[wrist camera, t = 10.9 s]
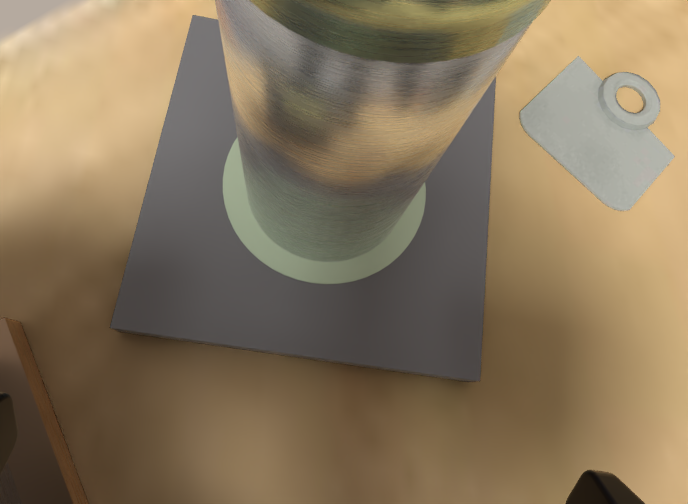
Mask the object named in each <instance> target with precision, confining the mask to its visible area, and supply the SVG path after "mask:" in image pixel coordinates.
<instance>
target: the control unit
mask: <svg viewBox="0 0 688 504" xmlns="http://www.w3.org/2000/svg"><path fill="white" fill-rule="evenodd" d="M0 392H5V393H8V394H9V395H10V396H11V397H12V400H13V405H14V411H15V416H16V422H17V428H18V437H17V441H16V444H15V447H14V449H13V451H12V453H11V455H10V457H9V459H8V461H7V463H6V465H5V467H4V469H3V471H2V473H1V475H0V504H88V501H87V498H86V496H85V493H84V490H83V488H82V485H81V482H80V480H79V477H78V474H77V472H76V469H75V466H74V464H73V461H72V458H71V456H70V453H69V450H68V448H67V445H66V442H65V440H64V437H63V434H62V432H61V429H60V426H59V424H58V421H57V418H56V416H55V413H54V410H53V408H52V405H51V402H50V400H49V397H48V394H47V392H46V389H45V386H44V384H43V381H42V378H41V376H40V373H39V370H38V368H37V365H36V362H35V360H34V357H33V354H32V352H31V349H30V346H29V344H28V341H27V338H26V336H25V333H24V330H23V328H22V325H21V322H18V321H15V320H12V319H8V318H5V317H4V318H2V319H0Z"/></svg>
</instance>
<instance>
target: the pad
mask: <svg viewBox="0 0 688 504" xmlns="http://www.w3.org/2000/svg"><path fill="white" fill-rule="evenodd" d="M495 83H496V77H495V78H494V80H493V81H492V83H491V84H490V86H489V87H488V89H487V90H486V92H485V93H484V95H483V96H482V98H481V99H480V101H479V102H478V104H477V105H476V106H475V108H474V109H473V111H472V112H471V114H470V115H469V117H468V118H467V120H466V121H465V123H464V124H463V126H462V127H461V129H460V130H459V132H458V133H457V135H456V136H455V138H454V139H453V141H452V142H451V144H450V145H449V147H448V148H447V150H446V151H445V153H444V154H443V156H442V157H441V159H440V160H439V162H438V163H437V165H436V166H435V168H434V169H433V171H432V172H431V173H430V175H429V176H428V178H427V179H426V181H425V182H424V184H423V185H422V187H421V188H420V190H419V191H418V193H417V194H416V196H415V197H414V199H413V200H412V202H411V203H410V205H409V206H408V208H407V209H406V211H405V212H404V214H403V215H402V217H401V218H400V220H399V221H398V223H397V224H396V226H395V227H394V229H393V230H392V231H391V233H390V234H389V235H388V236H387V238H386V239H385V240H384V241H383V242H382V243H380V244H379V245H378V246H377V247H376V248H374V249H372V250H371V251H369V252H367V253H365V254H363V255H361V256H359V257H356V258H353V259H349V260H345V261H339V262H319V261H313V260H308V259H304V258H301V257H299V256H296V255H293V254H291V253H290V252H288V251H286V250H284V249H282V248H281V247H280V246H278V245H277V244H275V243H274V242H273V241H272V240H271V239H270V238H269V237H268V236H267V235H266V234H265V233H264V232H263V230H262V229H261V228H260V226H259V225H258V223H257V222H256V220H255V218H254V216H253V214H252V212H251V209H250V205H249V202H248V197H247V191H246V185H245V179H244V173H243V167H242V161H241V154H240V148H239V142H238V136H237V130H236V124H235V118H234V112H233V106H232V100H231V94H230V88H229V81H228V75H227V69H226V63H225V57H224V51H223V45H222V39H221V33H220V27H219V21H218V20H216V19H211V18H206V17H201V16H196V15H193V16H192V20H191V24H190V28H189V31H188V35H187V39H186V43H185V46H184V50H183V54H182V58H181V61H180V65H179V69H178V73H177V76H176V80H175V84H174V88H173V91H172V95H171V99H170V103H169V107H168V110H167V114H166V118H165V122H164V125H163V129H162V133H161V137H160V140H159V144H158V148H157V152H156V155H155V159H154V163H153V167H152V170H151V174H150V178H149V182H148V186H147V189H146V193H145V197H144V201H143V204H142V208H141V212H140V216H139V219H138V223H137V227H136V231H135V234H134V238H133V242H132V246H131V250H130V253H129V257H128V261H127V265H126V268H125V272H124V276H123V280H122V283H121V287H120V291H119V295H118V298H117V302H116V306H115V310H114V313H113V317H112V321H111V325H110V328H112V329H114V330H116V331H119V332H125V333H132V334H139V335H146V336H153V337H160V338H167V339H173V340H180V341H187V342H194V343H201V344H208V345H215V346H222V347H229V348H236V349H243V350H250V351H257V352H264V353H271V354H278V355H285V356H292V357H299V358H306V359H312V360H319V361H326V362H333V363H340V364H347V365H354V366H361V367H368V368H375V369H382V370H389V371H396V372H403V373H410V374H417V375H424V376H431V377H438V378H444V379H451V380H458V381H465V382H476V381H480V374H481V354H482V335H483V316H484V296H485V277H486V258H487V238H488V219H489V200H490V180H491V161H492V141H493V122H494V103H495Z"/></svg>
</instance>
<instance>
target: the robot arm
mask: <svg viewBox="0 0 688 504" xmlns="http://www.w3.org/2000/svg"><path fill="white" fill-rule="evenodd" d="M17 437H18V428H17V422H16V416H15V411H14V405H13V400H12V397H11V396H10V395H9V394H8V393H5V392H0V475H1V473H2V471H3V469H4V467H5V465H6V463H7V461H8V459H9V457H10V455H11V453H12V451H13V449H14V447H15V444H16V441H17ZM566 504H645V503H644V502H643V501H642V500H641V499H640V498H639V497H638V496H637V495H635V494H634V493H633V492H632V491H631V490H630V489H629V488H628V487H627V486H626V485H625V484H624V483H623V482H622V481H621V480H620V479H619V478H617V477H616V476H615V475H613V474H611V473H609V472H602V471H595V470H587V471H585V472H584V473H583V474H582V475H581V477H580V478H579V480H578V482H577V483H576V485H575V487H574V488H573V490H572V492H571V493H570V495H569V497H568V498H567V501H566Z"/></svg>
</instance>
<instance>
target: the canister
mask: <svg viewBox="0 0 688 504" xmlns="http://www.w3.org/2000/svg"><path fill="white" fill-rule="evenodd" d="M550 1H551V0H215V2H216V9H217V15H218V21H219V27H220V33H221V39H222V45H223V51H224V57H225V63H226V69H227V75H228V81H229V88H230V94H231V100H232V106H233V112H234V118H235V124H236V130H237V136H238V142H239V148H240V154H241V161H242V167H243V173H244V179H245V185H246V191H247V197H248V202H249V205H250V209H251V212H252V214H253V216H254V218H255V220H256V222H257V223H258V225H259V226H260V228H261V229H262V230H263V232H264V233H265V234H266V235H267V236H268V237H269V238H270V239H271V240H272V241H273V242H274V243H275V244H277V245H278V246H280V247H281V248H282V249H284V250H286V251H288V252H290V253H291V254H293V255H296V256H299V257H301V258H304V259H308V260H313V261H319V262H339V261H345V260H349V259H353V258H356V257H359V256H361V255H363V254H365V253H367V252H369V251H371V250H372V249H374V248H376V247H377V246H378V245H379V244H380V243H382V242H383V241H384V240H385V239H386V238H387V236H388V235H389V234H390V233H391V231H392V230H393V229H394V227H395V226H396V224H397V223H398V221H399V220H400V218H401V217H402V215H403V214H404V212H405V211H406V209H407V208H408V206H409V205H410V203H411V202H412V200H413V199H414V197H415V196H416V194H417V193H418V191H419V190H420V188H421V187H422V185H423V184H424V182H425V181H426V179H427V178H428V176H429V175H430V173H431V172H432V171H433V169H434V168H435V166H436V165H437V163H438V162H439V160H440V159H441V157H442V156H443V154H444V153H445V151H446V150H447V148H448V147H449V145H450V144H451V142H452V141H453V139H454V138H455V136H456V135H457V133H458V132H459V130H460V129H461V127H462V126H463V124H464V123H465V121H466V120H467V118H468V117H469V115H470V114H471V112H472V111H473V109H474V108H475V106H476V105H477V104H478V102H479V101H480V99H481V98H482V96H483V95H484V93H485V92H486V90H487V89H488V87H489V86H490V84H491V83H492V81H493V80H494V78H495V77H496V75H497V74H498V72H499V71H500V69H501V68H502V66H503V65H504V63H505V62H506V60H507V59H508V57H509V56H510V54H511V53H512V51H513V50H514V48H515V47H516V45H517V44H518V42H519V41H520V40H521V38H522V37H523V35H524V34H525V32H526V31H527V29H528V28H529V26H530V25H531V23H532V22H533V21H534V20H535V19H536V18H537V17H538V16H539V15H540V14H541V12H542V11H543V10H544V9H545V8H546V7H547V5H548V4H549V2H550Z"/></svg>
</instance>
